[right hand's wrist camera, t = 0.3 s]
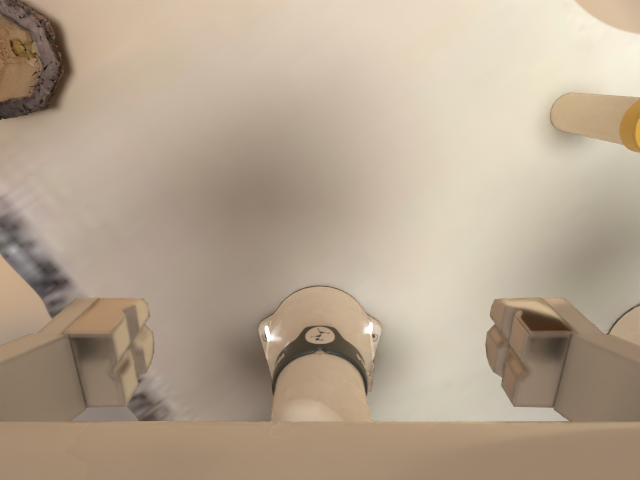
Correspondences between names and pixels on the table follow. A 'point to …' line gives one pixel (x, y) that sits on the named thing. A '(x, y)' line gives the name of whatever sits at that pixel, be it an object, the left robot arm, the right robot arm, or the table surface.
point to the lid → (631, 127)
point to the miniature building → (26, 60)
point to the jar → (591, 115)
